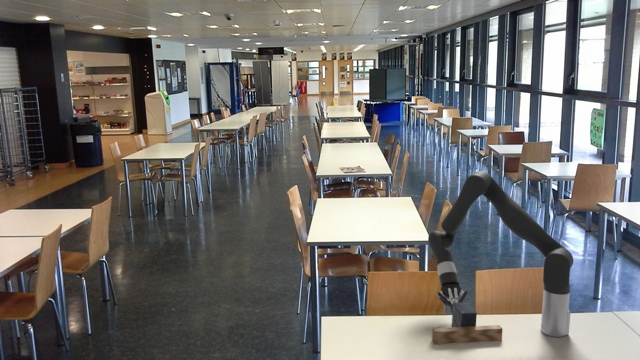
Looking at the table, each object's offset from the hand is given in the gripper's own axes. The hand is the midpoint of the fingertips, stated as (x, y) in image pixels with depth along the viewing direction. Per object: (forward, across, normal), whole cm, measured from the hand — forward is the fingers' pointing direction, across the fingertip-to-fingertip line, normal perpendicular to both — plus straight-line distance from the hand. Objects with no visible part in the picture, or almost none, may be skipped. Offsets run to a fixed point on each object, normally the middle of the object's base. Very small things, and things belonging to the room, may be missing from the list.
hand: (456, 314), depth 218 cm
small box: (+8, +1, -1) cm, 8 cm away
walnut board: (+12, 0, -6) cm, 13 cm away
